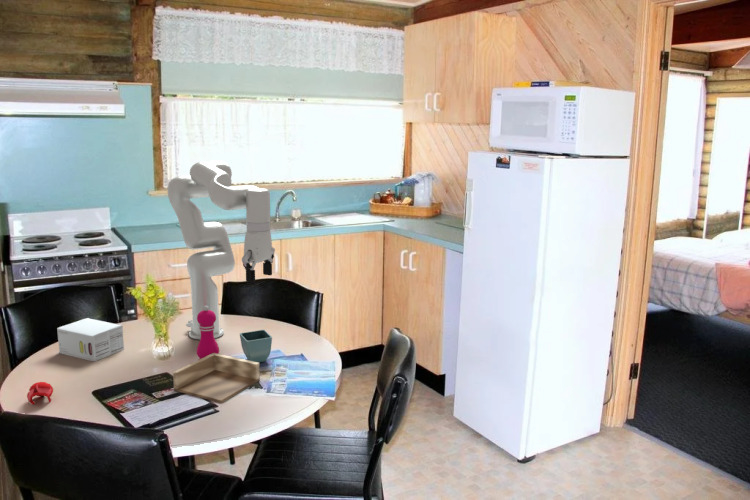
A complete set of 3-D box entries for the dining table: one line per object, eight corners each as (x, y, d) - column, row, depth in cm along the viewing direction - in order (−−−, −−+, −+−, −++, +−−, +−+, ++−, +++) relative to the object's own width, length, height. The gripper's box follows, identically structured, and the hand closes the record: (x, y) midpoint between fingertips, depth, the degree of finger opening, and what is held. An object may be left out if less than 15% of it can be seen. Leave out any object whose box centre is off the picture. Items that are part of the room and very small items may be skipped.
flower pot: (247, 367, 205) (246, 341, 204) (239, 358, 213) (239, 332, 211) (273, 362, 209) (272, 337, 208) (264, 354, 217) (264, 329, 215)
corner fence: (173, 387, 187) (172, 372, 186) (214, 367, 203) (213, 352, 202) (221, 400, 179) (220, 383, 178) (259, 377, 195) (259, 362, 194)
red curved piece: (55, 393, 176) (56, 376, 180) (32, 391, 173) (33, 374, 177) (47, 410, 180) (48, 393, 184) (24, 408, 177) (25, 391, 181)
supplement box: (58, 354, 215) (55, 327, 213) (89, 342, 227) (87, 317, 225) (94, 362, 208) (92, 335, 206) (124, 349, 220) (123, 324, 218)
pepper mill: (199, 359, 211) (196, 302, 207) (221, 359, 211) (219, 302, 207) (195, 368, 204) (192, 309, 200) (217, 367, 204) (215, 308, 200)
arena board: (173, 390, 187) (173, 387, 187) (214, 369, 203) (214, 367, 203) (221, 402, 179) (221, 400, 179) (259, 380, 195) (259, 377, 195)
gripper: (263, 222, 212) (264, 271, 216) (232, 230, 196) (233, 282, 200) (282, 224, 209) (283, 273, 213) (252, 232, 193) (253, 285, 197)
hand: (259, 278), depth 206 cm, fingers open, 9 cm apart
